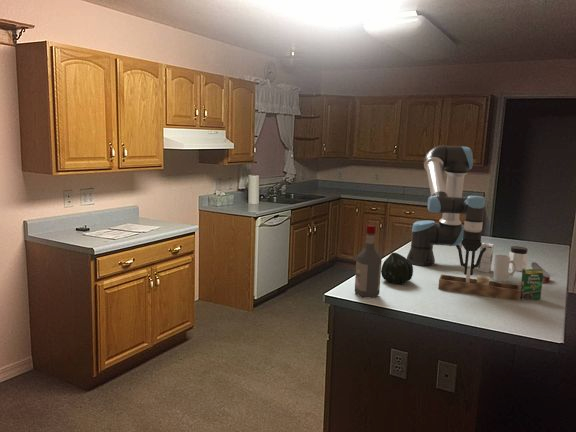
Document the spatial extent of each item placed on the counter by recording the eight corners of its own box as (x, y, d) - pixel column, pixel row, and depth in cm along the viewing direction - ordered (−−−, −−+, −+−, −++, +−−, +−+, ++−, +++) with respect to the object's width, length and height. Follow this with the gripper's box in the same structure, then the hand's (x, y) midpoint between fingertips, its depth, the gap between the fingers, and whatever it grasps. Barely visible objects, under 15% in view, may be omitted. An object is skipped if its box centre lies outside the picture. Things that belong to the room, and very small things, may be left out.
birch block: (476, 287, 214) (477, 277, 213) (476, 284, 219) (477, 275, 218) (488, 289, 212) (489, 279, 211) (488, 286, 217) (489, 276, 216)
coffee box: (522, 299, 208) (525, 270, 206) (518, 297, 211) (522, 268, 209) (540, 300, 208) (544, 270, 206) (537, 298, 211) (540, 268, 209)
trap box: (438, 289, 218) (439, 279, 218) (440, 283, 227) (441, 274, 227) (519, 300, 206) (521, 290, 205) (518, 294, 214) (519, 284, 214)
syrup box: (479, 268, 258) (482, 242, 256) (491, 270, 255) (494, 243, 253) (477, 271, 253) (480, 244, 251) (489, 272, 250) (492, 245, 248)
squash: (422, 270, 228) (403, 244, 231) (413, 279, 215) (393, 251, 218) (399, 285, 235) (381, 260, 238) (389, 294, 222) (370, 267, 225)
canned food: (537, 286, 245) (547, 269, 245) (548, 290, 235) (559, 273, 235) (518, 275, 245) (528, 258, 244) (529, 279, 234) (539, 261, 234)
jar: (519, 272, 254) (521, 250, 252) (504, 268, 261) (507, 246, 259) (528, 270, 259) (531, 248, 257) (514, 266, 266) (516, 245, 264)
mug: (491, 279, 237) (493, 256, 235) (494, 277, 243) (496, 253, 241) (513, 283, 231) (516, 259, 230) (516, 280, 237) (518, 257, 235)
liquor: (361, 298, 201) (366, 228, 197) (352, 291, 210) (356, 224, 205) (381, 297, 204) (386, 227, 199) (371, 290, 212) (376, 223, 208)
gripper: (456, 230, 213) (451, 281, 217) (488, 233, 208) (482, 286, 212) (457, 227, 220) (453, 277, 224) (488, 230, 215) (483, 281, 219)
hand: (467, 281), depth 218 cm, fingers closed
